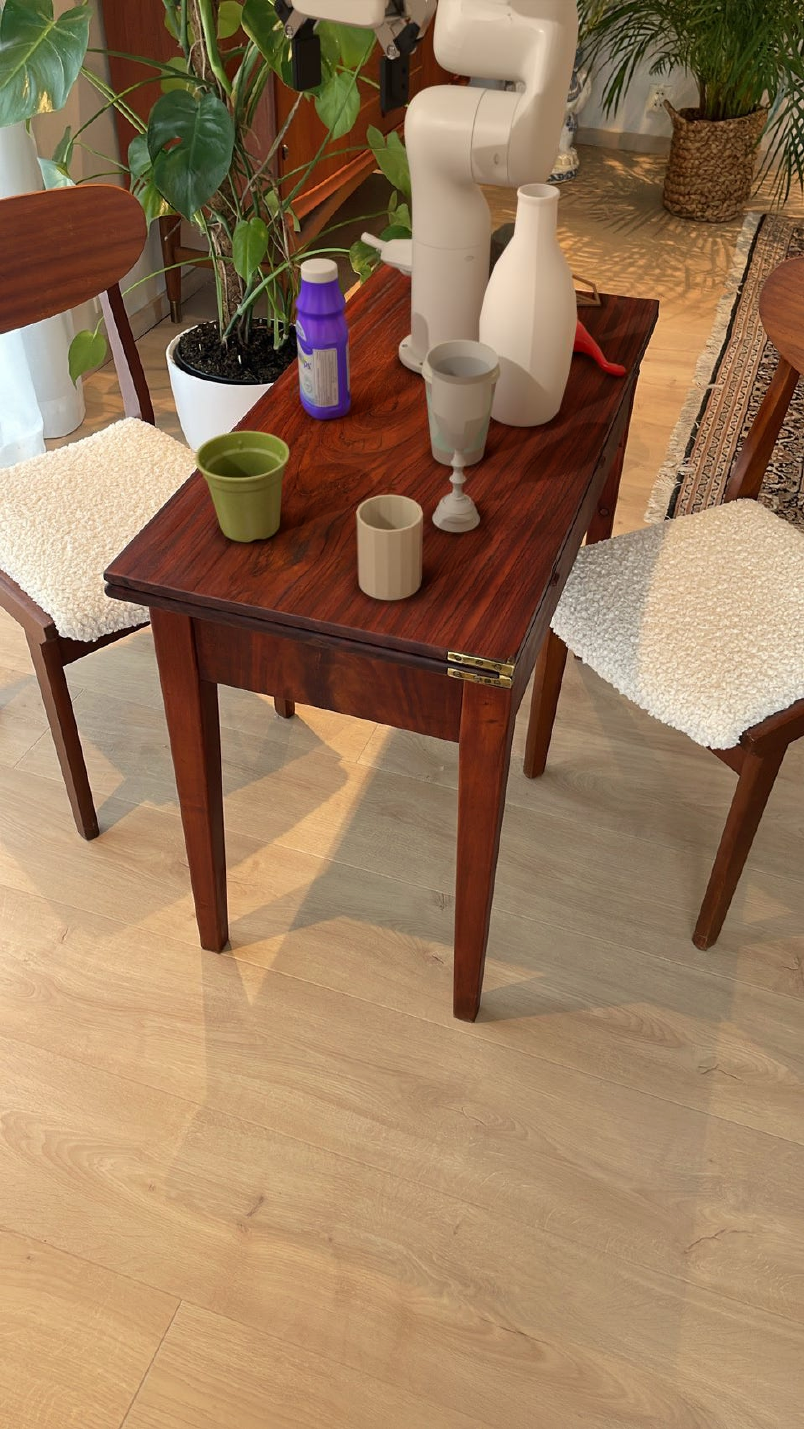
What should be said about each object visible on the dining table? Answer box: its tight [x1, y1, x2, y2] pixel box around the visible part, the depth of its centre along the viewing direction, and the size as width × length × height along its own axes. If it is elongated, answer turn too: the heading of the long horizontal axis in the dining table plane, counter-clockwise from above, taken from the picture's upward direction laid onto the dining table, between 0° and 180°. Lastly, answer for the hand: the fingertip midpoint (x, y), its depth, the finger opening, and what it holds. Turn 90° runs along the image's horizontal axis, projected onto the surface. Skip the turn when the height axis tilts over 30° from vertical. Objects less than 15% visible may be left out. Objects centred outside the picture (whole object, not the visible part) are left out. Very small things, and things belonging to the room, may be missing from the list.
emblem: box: [572, 274, 602, 307], centre depth 164 cm, size 12×10×1 cm
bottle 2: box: [479, 183, 578, 428], centre depth 131 cm, size 11×11×25 cm
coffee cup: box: [421, 340, 501, 467], centre depth 128 cm, size 8×8×12 cm
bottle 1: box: [295, 258, 352, 421], centre depth 134 cm, size 7×6×17 cm
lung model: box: [360, 231, 412, 278], centre depth 160 cm, size 7×17×25 cm
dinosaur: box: [572, 313, 627, 377], centre depth 149 cm, size 4×15×12 cm
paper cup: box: [355, 494, 424, 601], centre depth 112 cm, size 6×6×8 cm
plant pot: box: [194, 430, 290, 543], centre depth 118 cm, size 9×9×9 cm
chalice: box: [427, 342, 498, 533], centre depth 116 cm, size 7×7×18 cm
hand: (349, 97), depth 101 cm, fingers open, 9 cm apart
